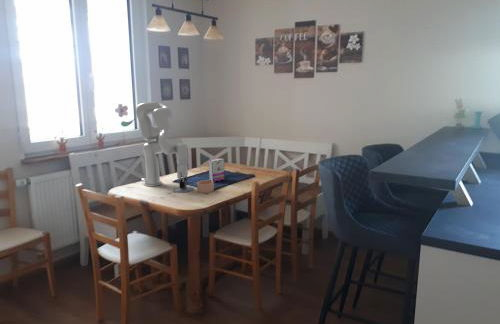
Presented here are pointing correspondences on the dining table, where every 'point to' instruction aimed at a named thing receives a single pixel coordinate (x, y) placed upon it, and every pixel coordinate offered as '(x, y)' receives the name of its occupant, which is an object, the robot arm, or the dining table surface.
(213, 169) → the candy bar box
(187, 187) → the lid
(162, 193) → the dining table surface
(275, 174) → the dining table surface
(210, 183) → the bowl
